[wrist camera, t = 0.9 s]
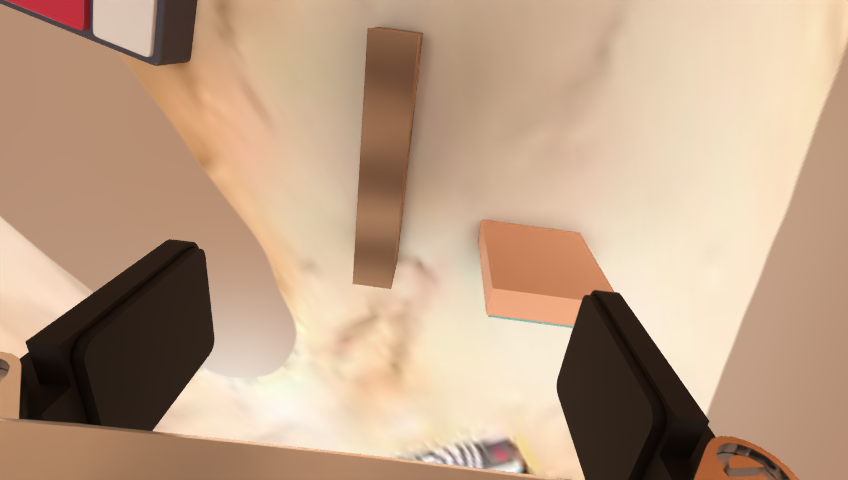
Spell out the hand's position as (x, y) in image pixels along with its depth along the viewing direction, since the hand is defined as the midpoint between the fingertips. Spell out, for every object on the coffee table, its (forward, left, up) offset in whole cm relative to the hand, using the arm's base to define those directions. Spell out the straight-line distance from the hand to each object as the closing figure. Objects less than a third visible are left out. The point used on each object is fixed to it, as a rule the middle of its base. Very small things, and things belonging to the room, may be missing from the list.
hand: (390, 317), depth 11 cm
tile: (+9, +9, -24) cm, 27 cm away
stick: (+4, -3, -24) cm, 24 cm away
